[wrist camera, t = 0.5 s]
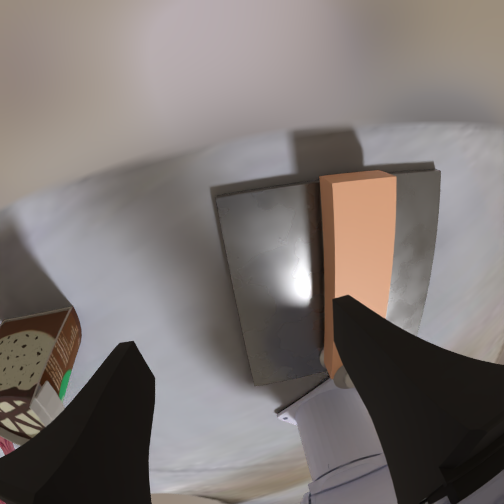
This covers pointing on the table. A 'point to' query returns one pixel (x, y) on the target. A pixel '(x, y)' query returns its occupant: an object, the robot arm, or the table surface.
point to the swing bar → (356, 248)
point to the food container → (35, 370)
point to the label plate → (314, 268)
